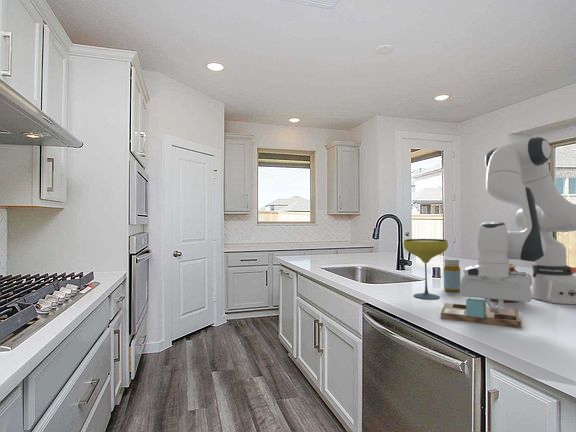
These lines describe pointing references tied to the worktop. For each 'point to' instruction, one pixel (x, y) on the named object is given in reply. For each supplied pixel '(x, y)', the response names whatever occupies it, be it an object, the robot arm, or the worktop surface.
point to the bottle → (452, 275)
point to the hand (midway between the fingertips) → (494, 312)
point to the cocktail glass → (426, 257)
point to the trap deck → (503, 318)
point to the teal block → (476, 307)
